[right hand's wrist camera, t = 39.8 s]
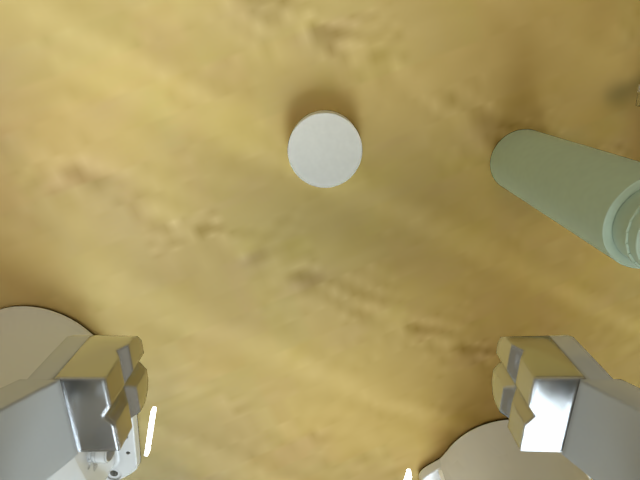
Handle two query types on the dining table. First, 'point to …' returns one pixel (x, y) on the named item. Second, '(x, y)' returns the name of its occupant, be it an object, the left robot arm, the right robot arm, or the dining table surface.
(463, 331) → the dining table surface
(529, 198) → the green tall cylinder
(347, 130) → the lid
